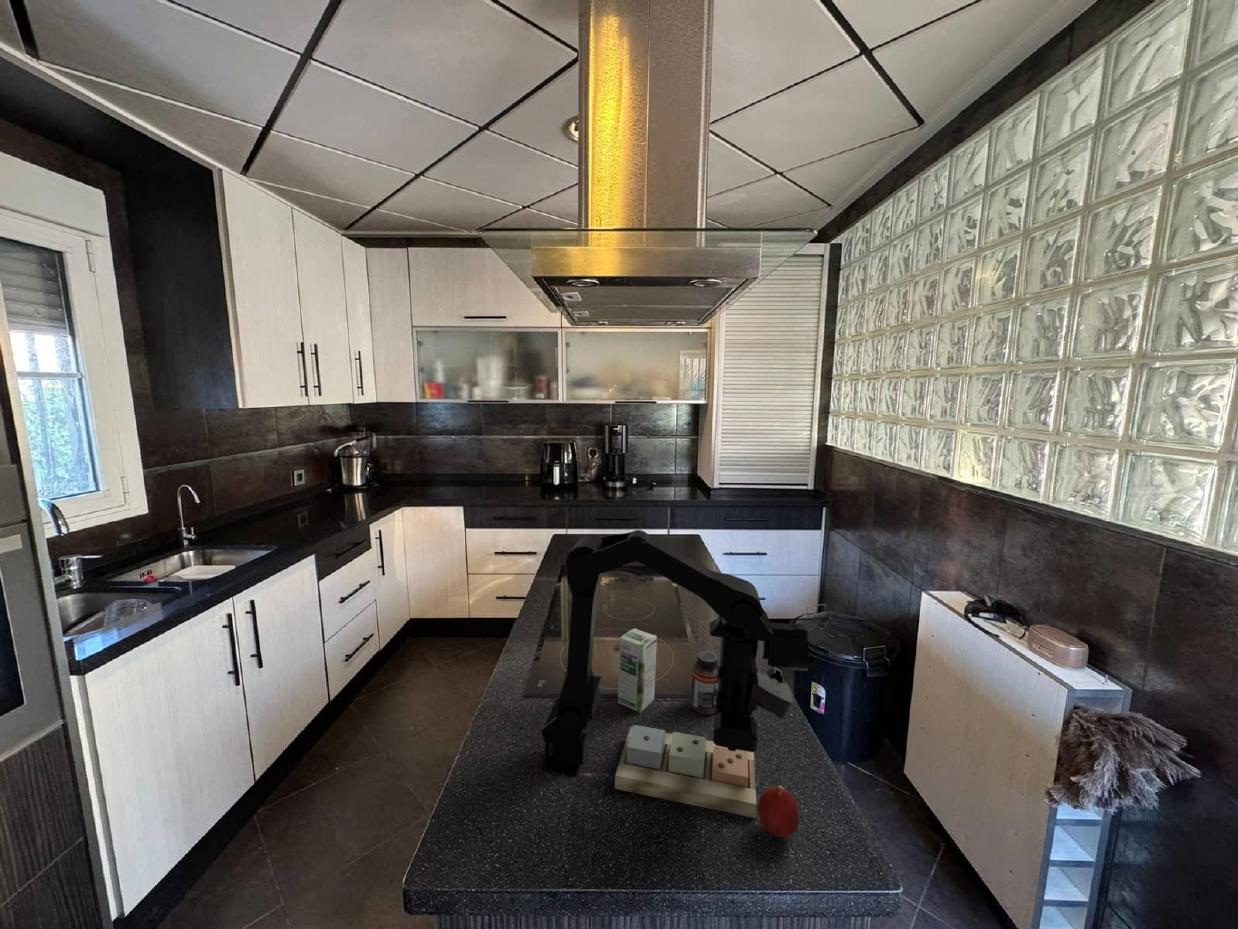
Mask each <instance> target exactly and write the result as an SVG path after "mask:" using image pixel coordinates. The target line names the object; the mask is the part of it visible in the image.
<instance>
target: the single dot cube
mask: <svg viewBox="0 0 1238 929" xmlns="http://www.w3.org/2000/svg"><path fill="white" fill-rule="evenodd" d="M632 727H633V729H632V733H631V736H630V739H629V743H628V746H627V763H629V764H635V765H640V766H645V767H650V768H655V769H660V767H661V762H662V757H663V752H664V747H665V733H666V730H664V729H659V728H654V727H647V726H644V725H643V726H642V725H636V724H633V725H632Z"/></svg>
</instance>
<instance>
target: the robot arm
mask: <svg viewBox="0 0 1238 929" xmlns="http://www.w3.org/2000/svg"><path fill="white" fill-rule="evenodd" d="M635 562H636V563H639V564H641V565H642V566H643V567H645V568H648V569H650V570H652V571H654V572H655V573H657V574H659V575H660V576H662V577H664V578H666V579H667V580H669V581H671V582H672V583H675V584H676V585H678V586H680V587H681V588H684V589H685V590H687V591H689V592H690V593H692V594H694V595H696V596H698V597H700V599H702V600H703V601H704V602H705V603H706V604H707V605H708V606H709V607H710V608H711V609H712V611H714V613H715V614H716V615H718V617H717V618H716V619H713V620H712V621H710V622H709V626H708V627H709V636H711V637H715V638H716V637H717V638H720V642H719V644H720V645H719V659H718V660H719V663H718V664H719V665H718V669H717V684H718V693H717V696H716V708H717V711H715V713H714V717H713V718H714V721H713V723H714V724H713V739H712V741H713V743H714V744H715V745H716V746H721V747H726V748H728V750H730V751H736V749H737V750H743V751H749V752H754V753H755V752H757V751H758V738H759V736H758V725H757V722H756V721H755V717H754V716H752V714H753V712H754V711H757V710H758V707H760V708H761V709H762V710H763V709H764V710H765V711H767V712H769V713H771V714H773V715H775V716H776V717H777V718H779V719H785V717H786V716H787V713H788V712H789V711H790V708H791V706H792V704H793V703H794V699H793V693H792V689H791V688H790V686H789V684H788V682H786V681H785V682H784V676H783V671H782V669H787V670H795V671H808V670H809V668H810V666H811V665H810V664H811V654H810V651H809V650H810V647H809V637H808V632H809V631H808V628H807V627H806V625H805V623H804V624H803V623H793V624H792V623H780V622H770V620H769V616H768V613H767V612H766V611H765V609H764V608H763V607H762V604H761V601H760V600H761V599H760V598H759V594H758V590H757V588H756V587H755V585H754V584H753V583H752V582H750V581H748V580H746V579H743V578H741V577H738V576H736V575H732V574H728V573H722V572H718V571H714V570H712V569H709V568H707V566H704V565H702V564H700V563H699V562H697V561H695V560H693V559H692V558H689V557H688V556H687V555H684V554H683V553H682V552H681V553H680V552H679V551H677V550H675V549H673V548H672V547H670V546H668V545H666V544H664V543H663V542H661V541H659V540H658V539H656V538H654V537H652V536H650V535H649V533H647V532H646V531H643V530H641V529H635V530H633V531H629V532H626V533H623V532H622V533H614V534H608V535H605V536H600V537H598V536H596V535H585V536H583V537H581V538H580V539H579V540H578V541H577V542H576V543H575V545H574V546H573V548H571V550H570V551H569V552H568V554H567V556H566V558H565V563H564V564H565V573H566V581H567V582H566V583H567V585H568V588H569V591H570V594H571V603H570V604H571V605H570V607H571V608H570V620H569V630H568V631H569V634H568V645H567V646H568V649H567V660H566V661H567V662H566V672H565V673H566V674H565V678H564V682H563V684H562V688H561V690H560V694H559V696H558V697H556V699H555V700H554V702H553V705H552V707H551V709H550V711H549V713H548V715H547V717H546V720H545V721H544V724H543V726H542V729H541V731H540V732H541V735H542V738H543V741H544V757H543V760H542V762H541V764H540V768H541V769H543V770H547V771H551V772H556V773H562V774H566V775H572V776H576V775H578V774H579V771H580V768H581V766H582V765H584V763H585V760H586V758H587V756H588V734H587V732H585V731H586V730H585V729H586V728H587V727H588V724H589V722H590V720H591V721H592V720H594V716H595V714H596V711H597V708H598V704H599V701H600V698H601V692H600V684H601V681H602V676H601V675H600V676H599V675H598V676H597V675H595V676H594V672H593V669H592V664H593V649H594V641H595V640H594V638H595V628H596V627H595V626H596V614H597V603H598V601H597V600H598V592H599V589H600V585H601V582H602V579H603V577H604V576H603V575H604V573H607V572H612V571H613V570H616V569H618V568H620V567H622V566H626V565H627V564H631V563H635ZM759 641H760V658H761V659H762V660H766V665H767V666H768V667H770V669H768V670H767V671H764V672H763V673H761V672H758V664H757V660H758V659H757V658H758V647H759V646H758V645H759Z"/></svg>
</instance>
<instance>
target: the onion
mask: <svg viewBox="0 0 1238 929" xmlns="http://www.w3.org/2000/svg"><path fill="white" fill-rule="evenodd" d="M757 807H758V808H757V810H758V811H757V813H758V817H759V820H760V822H761V825H762V826H763V828H765V829H766V831H768V833H770V834H771V835H773V836H775V837H778V838H779V837H780V838H787V837H789V836H792V835H793V834H795V833H796V832H797V830H798V829H799V826H800V822H801V821H800V820H801V809H800V807H799V805H798V802H797V800H796V798H795V796H793V794H792V793H791V792H790V791H789V790H787V789H786V788H784V787H783V786H782V785H777V786H771V787H769V788H767V789H766V790H764V791H763V793H762V794H761V795H760V798H759V801H758V805H757Z"/></svg>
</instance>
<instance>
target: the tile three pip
mask: <svg viewBox="0 0 1238 929" xmlns="http://www.w3.org/2000/svg"><path fill="white" fill-rule="evenodd" d="M712 781H714V782H719V783H724V784H729V785H734V786H739V787H744V788H748V752H743V751H738V750H736V751H730V750H728V749H727V748H721V747H716V746H714V751H713V768H712Z"/></svg>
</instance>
